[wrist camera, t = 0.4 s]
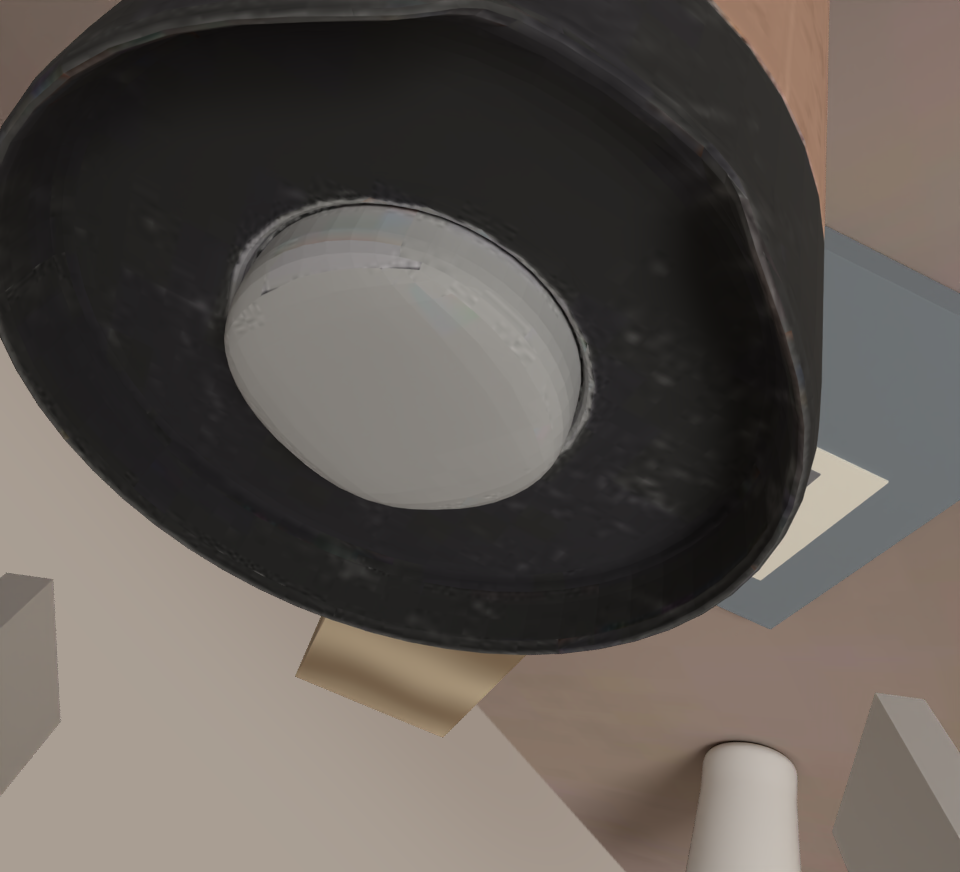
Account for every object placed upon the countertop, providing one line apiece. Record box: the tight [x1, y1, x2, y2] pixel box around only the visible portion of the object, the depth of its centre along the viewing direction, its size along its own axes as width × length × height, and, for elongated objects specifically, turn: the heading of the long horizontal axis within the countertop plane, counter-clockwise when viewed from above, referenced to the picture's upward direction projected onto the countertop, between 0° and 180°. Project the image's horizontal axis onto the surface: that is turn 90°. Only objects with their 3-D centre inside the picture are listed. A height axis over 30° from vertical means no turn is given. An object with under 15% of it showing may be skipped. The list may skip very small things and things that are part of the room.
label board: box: [717, 226, 960, 629], centre depth 33 cm, size 19×22×2 cm
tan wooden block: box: [295, 616, 526, 738], centre depth 29 cm, size 20×6×9 cm, turn 159°
